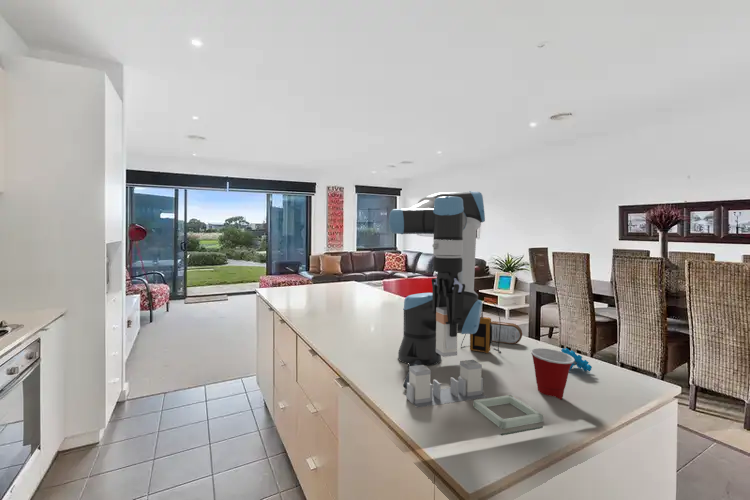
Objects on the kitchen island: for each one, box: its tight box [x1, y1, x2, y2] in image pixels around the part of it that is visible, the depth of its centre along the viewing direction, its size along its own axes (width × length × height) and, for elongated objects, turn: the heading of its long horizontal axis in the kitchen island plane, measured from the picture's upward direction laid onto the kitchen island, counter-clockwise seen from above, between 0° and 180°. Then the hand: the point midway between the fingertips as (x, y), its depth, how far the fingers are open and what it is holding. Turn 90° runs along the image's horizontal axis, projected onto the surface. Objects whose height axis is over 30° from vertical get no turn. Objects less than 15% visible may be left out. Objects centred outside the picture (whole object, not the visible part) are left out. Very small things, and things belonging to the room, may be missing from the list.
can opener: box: [402, 360, 422, 390], centre depth 105 cm, size 18×7×6 cm, turn 158°
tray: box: [472, 394, 544, 437], centre depth 85 cm, size 11×11×3 cm
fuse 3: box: [459, 359, 483, 396], centre depth 97 cm, size 4×4×8 cm
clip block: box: [404, 375, 488, 408], centre depth 95 cm, size 8×21×6 cm, turn 108°
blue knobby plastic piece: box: [560, 347, 592, 372], centre depth 118 cm, size 11×6×10 cm
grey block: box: [408, 365, 432, 404], centre depth 92 cm, size 4×4×8 cm
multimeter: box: [460, 300, 502, 354], centre depth 141 cm, size 15×10×20 cm
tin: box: [491, 320, 523, 345], centre depth 150 cm, size 15×3×8 cm, turn 65°
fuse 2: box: [436, 307, 458, 358], centre depth 94 cm, size 4×4×12 cm
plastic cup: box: [530, 347, 575, 401], centre depth 98 cm, size 11×11×12 cm
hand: (446, 345), depth 95 cm, fingers closed on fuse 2, 4 cm apart
